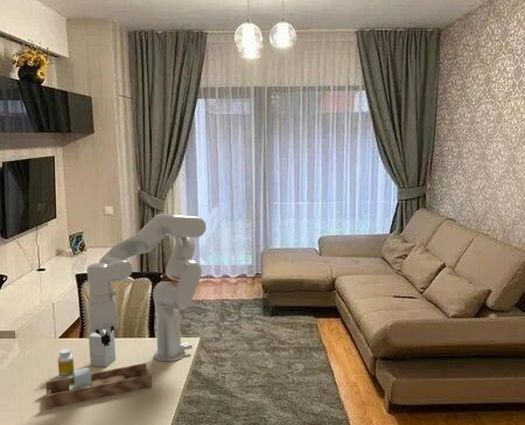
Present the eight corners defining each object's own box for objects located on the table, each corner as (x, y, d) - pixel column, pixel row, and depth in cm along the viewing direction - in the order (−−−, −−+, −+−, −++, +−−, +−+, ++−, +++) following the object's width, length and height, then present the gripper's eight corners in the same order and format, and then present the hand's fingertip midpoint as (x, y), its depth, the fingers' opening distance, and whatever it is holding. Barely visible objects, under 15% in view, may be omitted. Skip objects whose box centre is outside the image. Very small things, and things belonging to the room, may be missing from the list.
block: (89, 383, 173) (88, 367, 172) (91, 389, 168) (90, 373, 168) (74, 386, 170) (73, 370, 169) (76, 392, 166) (75, 376, 165)
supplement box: (116, 359, 197) (114, 330, 196) (106, 367, 190) (104, 337, 188) (100, 357, 199) (98, 328, 197) (89, 365, 192) (88, 335, 190)
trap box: (146, 374, 184) (145, 362, 184) (151, 387, 175) (151, 374, 174) (46, 393, 170) (45, 381, 170) (46, 409, 161) (45, 395, 160)
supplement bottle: (68, 378, 181) (67, 354, 180) (56, 377, 183) (54, 353, 181) (77, 372, 187) (75, 348, 185) (64, 371, 188) (62, 347, 186)
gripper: (120, 290, 180) (125, 336, 183) (78, 298, 173) (83, 345, 177) (124, 296, 173) (128, 344, 176) (80, 304, 167) (85, 353, 170)
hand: (106, 344), depth 176 cm, fingers closed
